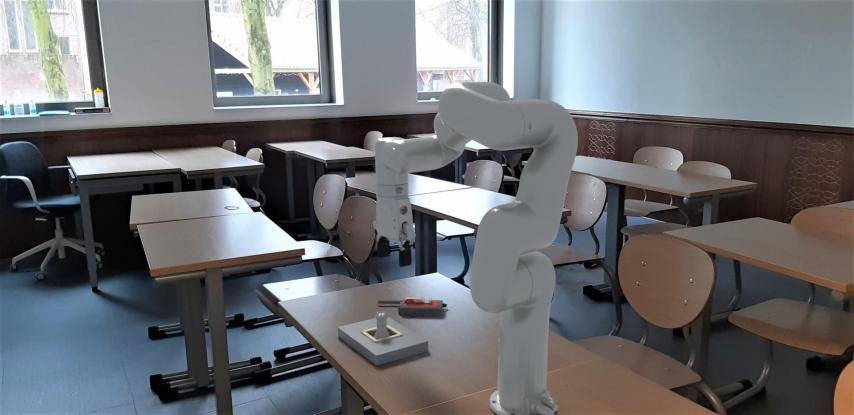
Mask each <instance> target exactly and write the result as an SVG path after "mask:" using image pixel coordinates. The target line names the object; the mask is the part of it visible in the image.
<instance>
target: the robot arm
mask: <svg viewBox="0 0 854 415" xmlns="http://www.w3.org/2000/svg"><path fill="white" fill-rule="evenodd" d="M433 129H434V133H435V134H434V135H432V136H424V137H423V136H421V137H413V138H402V137H396V136H392V137H389V136H388V137H381V138H378V139H376V140H375V142H374V161H375V162H374V164H375V195H376V204H375V205H376V206H375V219H374V220H373V221H372V226H373V228H374V234H375V242H376V249H377V250H376V251H377V258H379V259H382V258H387V257H390V255H391V252H390V251H391V250H390V248H391V247H390V243H391V242H390V240H392V241H395V242H397V244H398V247H399V249H398V267H400V268H405V267H408V266H412V263H413V262H412V258H413V257H412V250H413V248H414V244H415V239H416V232H415V231H414V221H413V218H414V217H413V212H412V211H413V209H412V205H411V204H412V203H411V199H410V197H409V174H412V173H419V172H425V171H426V172H427V171H433V170H437V169H441V168H443V167H445V166H447V165H448V164H450V163H451V162H453V161H455V160H457V159H458V158H459V157H461V155H462V154H463V152H464V151H465V149H466V146H467V144H468V143H470V142H472V141H474V142H475V143H477V144H479V145H482V146H484V147H486V148H488V149H492V150H496V151H510V150H519V149H527V148H528V149H529V148H533V152H532V153H531V155H530V156H529V158H528V159H527V161H526V163H525V165H524V167H523V168H522V171H521V174H520V178H519V186H518V189H517V193H516V196H515V199H514V200H513V201H512V202H507V203H504V204H498V205H496V206H493V207H492V208H490V209H489V210H487V212H486V213H485V214H483V217H482V218H481V219H480V222H479V224H478V227H477V232H476V237H475V244H474V250H473V254H472V260H471V261H472V262H471V267H470V272H469V273H470V274H469V291H470V295H471V298H472V301H473V302H474V304H475V306H476V307H477V308H478V309H479V310H481V311H483V312H486V313H489V314H498V313H500V315H499V320H498V345H497V346H498V348H497V351H498V353H497V354H498V355H497V390H495V391H493V393H492V394H490V397H489V407H490V409H491V410H492V412H494V413H495V414H496V415H555V412H557V411H558V410H559V405H557V404H556V403H555V401H554V400H553V398H552V397H551V392H550V391H551V390H549V389H547V382H548V381H547V380H548V351H549V349H548V348H549V334H550V332H549V328H550V313H551V306H552V305H551V304H552V301H553V297H554V292H555V289H556V288H555V286H556V281H557V280H556V278H557V277H556V270H555V267H554V265H553V262H552V261H551V260H550V258H549V257H548V256H547V255H546V254H544V253H542V252H539V251H540V250H544V249H545V248H548V247H549V246H551V245H552V244H554V242H555V241H556V238H557V236H558V233H559V230H560V225H561V224H560V223H561V220H562V215H563V211H564V210H563V209H564V206H565V200H566V197H567V189H568V185H569V180H570V176H571V174H572V171H573V167H574V163H575V160H576V156H577V153H578V144H579V137H578V136H579V135H578V129H577V125H576V122H575V120H574V118H573V117H572V115H571V113H570V112H569V111H568V110H567V109H566V108H565V107H564V106H563V105H561V104H560V103H558V102H555V101H552V100H550V99H549V100H548V99H540V98H534V99H533V98H532V99H518V100H514V99H512V100H511V98H510V94H509V92H508V91H507V90H506V89H505V88H504V87H503V86H502V85H500V84H499V83H497V82H493V81H467V82H466V81H465V82H463V81H462V82H461V81H460V82H456V83H453V84H450V85H448V86H447V87H446V88H445V89H444V90H443V91H442V93H441V94H440V96H439V99H438V103H437V114H436V115H435V117H434V119H433ZM403 241H404V242H403Z"/></svg>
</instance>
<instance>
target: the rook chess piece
mask: <svg viewBox="0 0 854 415" xmlns="http://www.w3.org/2000/svg"><path fill="white" fill-rule="evenodd" d="M388 317H389V315H388V313H387V311H383V310H381V311H379V310H378V311H377V312H376V314H375V315H374V318H376V319H377V321H376V324H377V329H376V333H375V336H374V338H375V339H376V340H378V339H381V338H385V337H389V336H390V335H389V333H388V331H387V321H386V319H387V318H388Z"/></svg>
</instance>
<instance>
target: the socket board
mask: <svg viewBox="0 0 854 415" xmlns="http://www.w3.org/2000/svg"><path fill="white" fill-rule="evenodd" d="M376 321H377V319H376V318H375V317H373V318H370V319H365V320H361V321H357V322H353V323H349V324H345V325H341V326H337V337H338V338H339V339H341V340H343V342H345V343H346V344H347V345H348V346H350V347H351V348H353V349H354V350H355V351H356V352H357V353H359V354H361V356H363V357H365V358H366V359H367V360H369V361H370V362H371V363H373V364H374V365H375V366H380V365H384V364H388V363H391V362H395V361H397V360H398V361H399V360H401V359H405V358H408V357H411V356H415V355H419V354H422V353H426V352H428V351H429V341H428V340H427V339H426V338H424V337H422V336H420V335H419V334H417V333H416V332H414V331H413V330H411V329H410V328H407V327H406V326H404V325H403V324H402V323H399V322H397V321H396V320H394V319H393V318H391V317H390V316H388V318H387V319H386V321H387V331H388V333H389V335H390V336H389V337H385V338H381V339H378V340H376V339H375V338H374V336H375V333H376V329H377V324H376Z"/></svg>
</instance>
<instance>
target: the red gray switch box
mask: <svg viewBox="0 0 854 415" xmlns="http://www.w3.org/2000/svg"><path fill="white" fill-rule="evenodd" d="M443 301H444V300H440V299H439V300H438V299H432V297H429V298H428V299H425V298H424V297H422V296H412V295H411V296H407V297H406V298H404V299H401V300H394V299H393V300H385V299H384V300H382V299H378V300H377V304H381V305H384V304H385V305H398V307H397V312H398V314H400V316H404V317H441V316H442V315H443V310H444V309H443V308H447V307H448V304H447V303H445V302H443Z"/></svg>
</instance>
